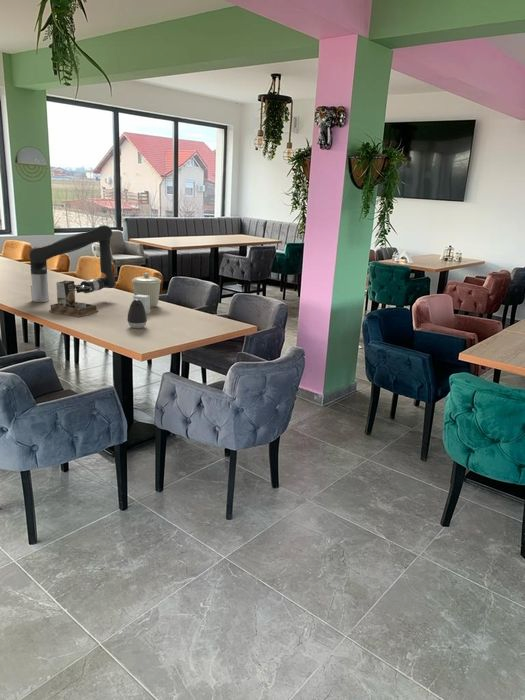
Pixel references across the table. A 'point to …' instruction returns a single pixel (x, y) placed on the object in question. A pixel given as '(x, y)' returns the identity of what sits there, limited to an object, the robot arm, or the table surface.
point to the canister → (147, 288)
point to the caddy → (74, 309)
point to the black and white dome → (137, 315)
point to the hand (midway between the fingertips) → (71, 290)
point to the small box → (144, 301)
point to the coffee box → (65, 293)
